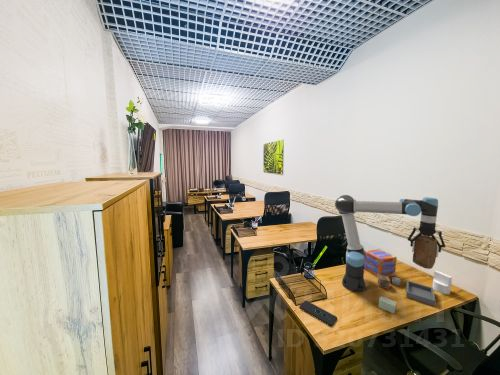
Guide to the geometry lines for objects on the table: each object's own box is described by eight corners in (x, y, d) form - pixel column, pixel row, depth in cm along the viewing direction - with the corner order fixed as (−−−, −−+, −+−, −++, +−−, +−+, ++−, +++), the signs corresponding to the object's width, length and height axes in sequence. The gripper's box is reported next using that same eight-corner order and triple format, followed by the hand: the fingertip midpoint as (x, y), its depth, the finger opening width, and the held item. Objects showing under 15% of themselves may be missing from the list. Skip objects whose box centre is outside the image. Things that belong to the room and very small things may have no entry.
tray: (406, 296, 132) (406, 291, 131) (406, 284, 145) (406, 280, 145) (434, 306, 123) (435, 301, 123) (432, 292, 136) (432, 287, 136)
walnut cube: (379, 286, 143) (380, 279, 142) (377, 282, 148) (378, 274, 147) (389, 288, 140) (390, 281, 140) (387, 284, 146) (388, 276, 145)
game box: (379, 278, 152) (381, 259, 151) (363, 268, 167) (364, 250, 166) (395, 275, 157) (397, 257, 155) (377, 266, 171) (379, 248, 170)
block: (435, 268, 127) (439, 239, 125) (427, 270, 125) (431, 240, 123) (417, 260, 138) (420, 233, 135) (409, 262, 136) (412, 234, 133)
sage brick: (378, 307, 123) (379, 299, 122) (380, 303, 126) (380, 295, 125) (394, 314, 117) (395, 306, 116) (395, 309, 121) (396, 302, 120)
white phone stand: (453, 292, 136) (455, 276, 135) (444, 295, 133) (446, 278, 132) (437, 285, 145) (439, 269, 143) (429, 287, 142) (431, 271, 140)
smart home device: (331, 325, 107) (298, 306, 121) (331, 327, 107) (298, 308, 121) (337, 316, 113) (305, 299, 127) (337, 319, 113) (305, 302, 127)
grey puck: (395, 285, 143) (396, 280, 143) (390, 281, 148) (390, 276, 148) (402, 285, 144) (402, 280, 143) (396, 281, 149) (397, 276, 148)
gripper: (404, 219, 132) (401, 250, 135) (455, 226, 118) (450, 261, 120) (404, 217, 138) (402, 247, 141) (452, 223, 123) (448, 257, 126)
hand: (424, 253), depth 130 cm, fingers closed on block, 11 cm apart
